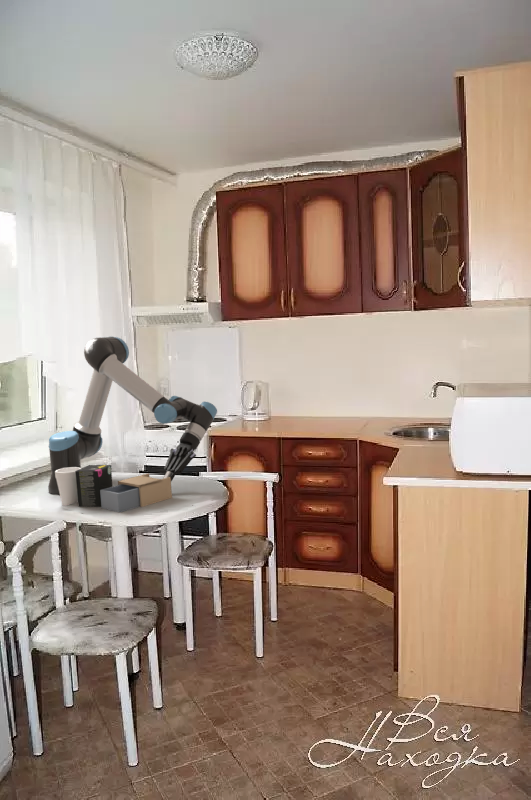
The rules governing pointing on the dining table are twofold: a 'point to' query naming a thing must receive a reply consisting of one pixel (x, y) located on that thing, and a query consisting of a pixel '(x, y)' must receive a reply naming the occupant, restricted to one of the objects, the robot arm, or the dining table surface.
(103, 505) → the drawer tray
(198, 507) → the dining table surface
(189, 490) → the dining table surface
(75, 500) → the foam cup
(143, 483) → the mailer sleeve
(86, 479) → the tampon box
